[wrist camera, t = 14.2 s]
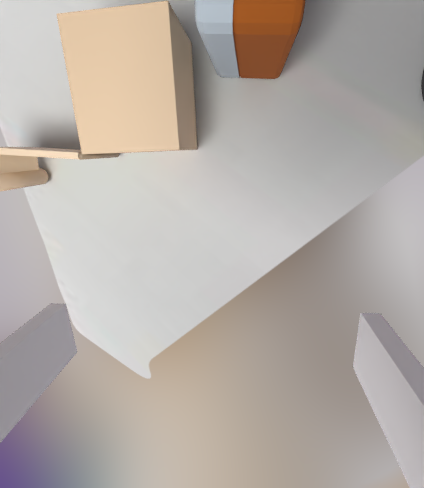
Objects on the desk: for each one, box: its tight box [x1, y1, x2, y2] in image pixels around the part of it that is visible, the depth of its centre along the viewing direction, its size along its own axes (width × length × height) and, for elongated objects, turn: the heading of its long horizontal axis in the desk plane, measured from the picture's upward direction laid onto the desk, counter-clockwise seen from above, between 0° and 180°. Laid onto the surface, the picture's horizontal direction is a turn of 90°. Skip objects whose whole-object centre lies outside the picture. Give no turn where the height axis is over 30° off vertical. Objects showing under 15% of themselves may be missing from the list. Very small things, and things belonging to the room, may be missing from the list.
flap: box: [0, 147, 119, 191], centre depth 41 cm, size 6×15×10 cm, turn 87°
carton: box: [57, 1, 197, 154], centre depth 36 cm, size 12×14×12 cm
